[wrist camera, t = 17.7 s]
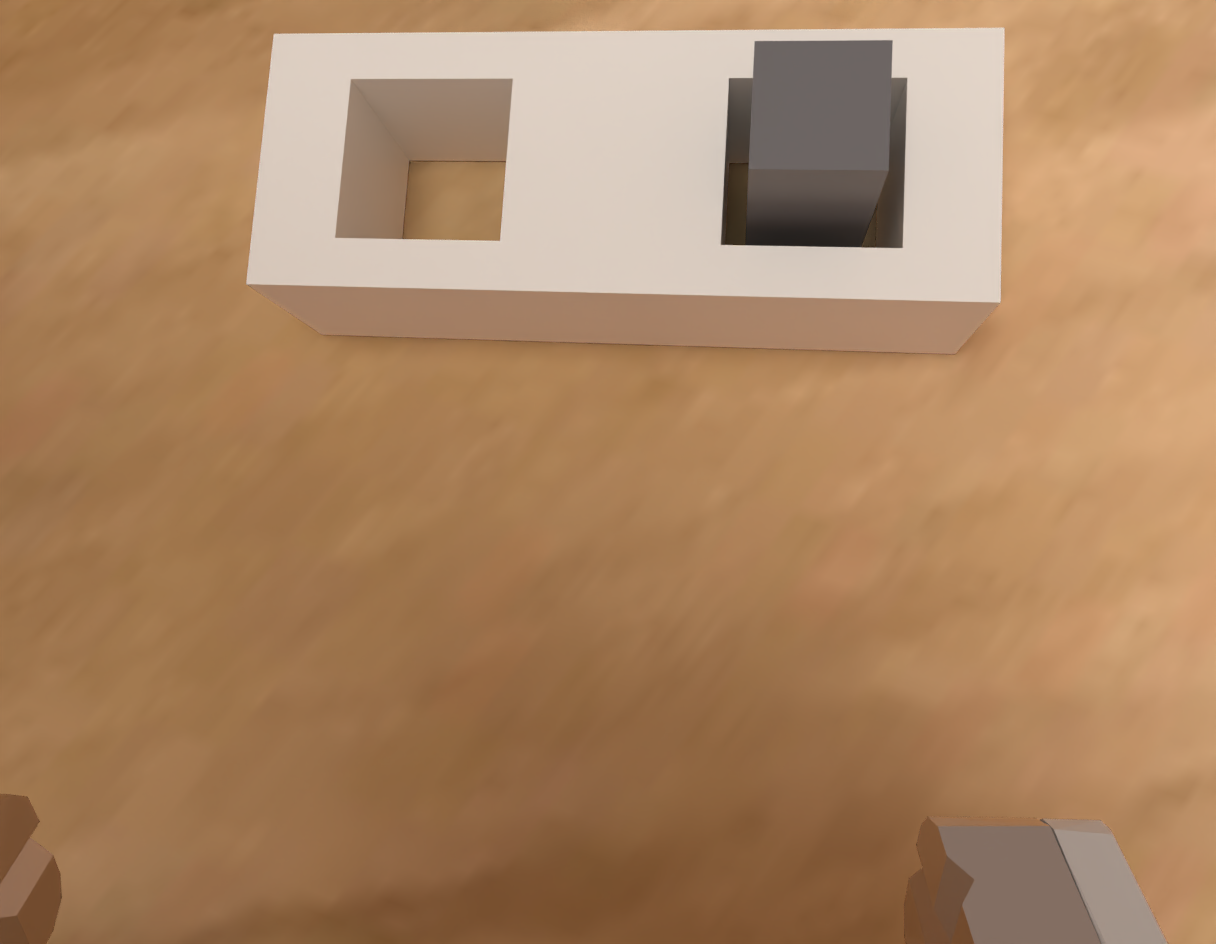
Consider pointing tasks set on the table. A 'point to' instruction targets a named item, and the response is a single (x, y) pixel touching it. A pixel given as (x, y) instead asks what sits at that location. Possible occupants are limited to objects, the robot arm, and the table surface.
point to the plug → (817, 141)
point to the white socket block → (616, 192)
